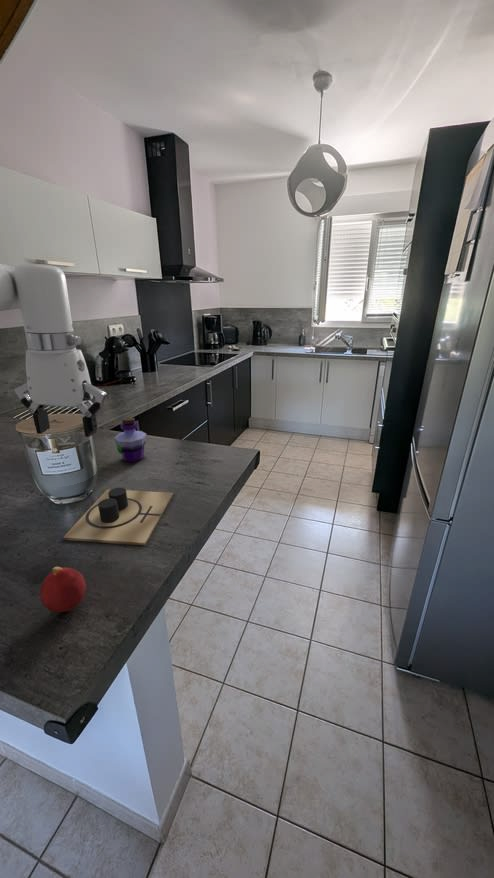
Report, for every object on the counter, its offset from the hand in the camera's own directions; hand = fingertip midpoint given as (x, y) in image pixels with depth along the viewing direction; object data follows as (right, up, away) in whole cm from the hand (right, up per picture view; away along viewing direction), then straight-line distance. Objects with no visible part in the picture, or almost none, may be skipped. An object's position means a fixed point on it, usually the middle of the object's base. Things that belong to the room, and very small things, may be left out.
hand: (67, 432), depth 69 cm
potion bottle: (+3, -7, +32) cm, 33 cm away
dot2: (+7, -16, +8) cm, 19 cm away
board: (+9, -17, +6) cm, 20 cm away
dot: (+7, -17, +4) cm, 19 cm away
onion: (+8, -27, -16) cm, 32 cm away
